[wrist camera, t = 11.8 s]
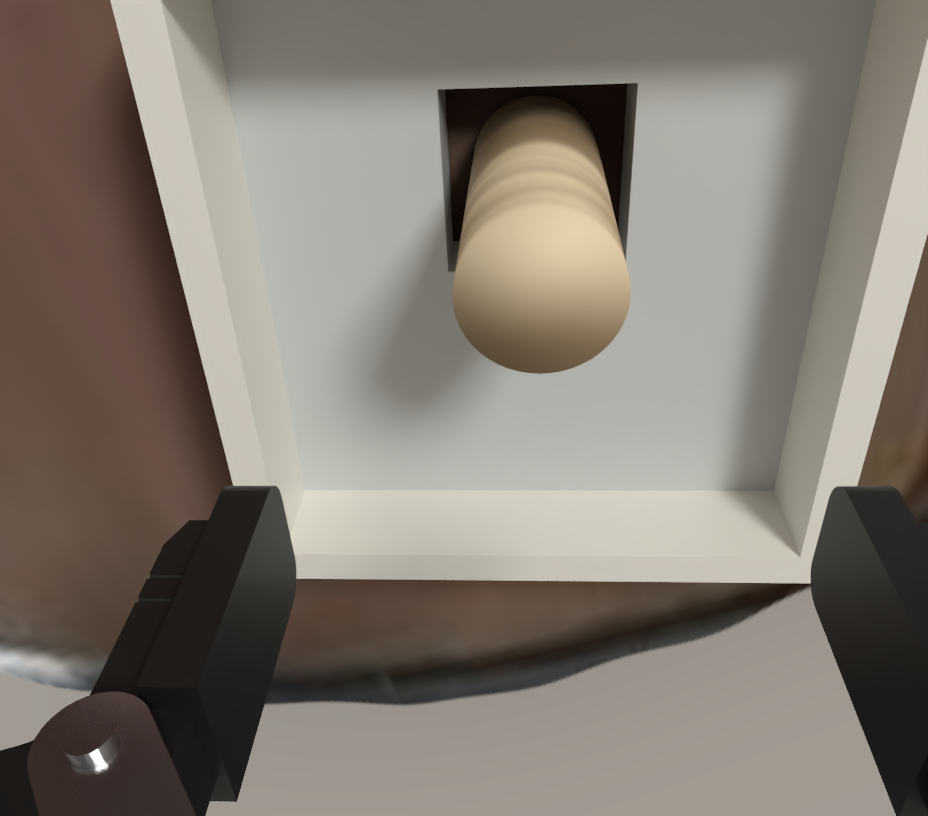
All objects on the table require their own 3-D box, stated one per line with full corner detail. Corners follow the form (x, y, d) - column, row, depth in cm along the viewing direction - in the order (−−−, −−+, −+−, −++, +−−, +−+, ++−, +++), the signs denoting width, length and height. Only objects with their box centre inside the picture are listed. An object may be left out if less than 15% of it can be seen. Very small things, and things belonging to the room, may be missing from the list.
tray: (184, -78, 24) (96, -57, 19) (909, -112, 23) (1020, -99, 18) (293, 474, 35) (256, 578, 30) (784, 474, 34) (829, 583, 29)
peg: (471, 97, 26) (447, 215, 18) (600, 92, 26) (637, 210, 18) (476, 219, 28) (456, 374, 20) (595, 216, 28) (625, 373, 20)
